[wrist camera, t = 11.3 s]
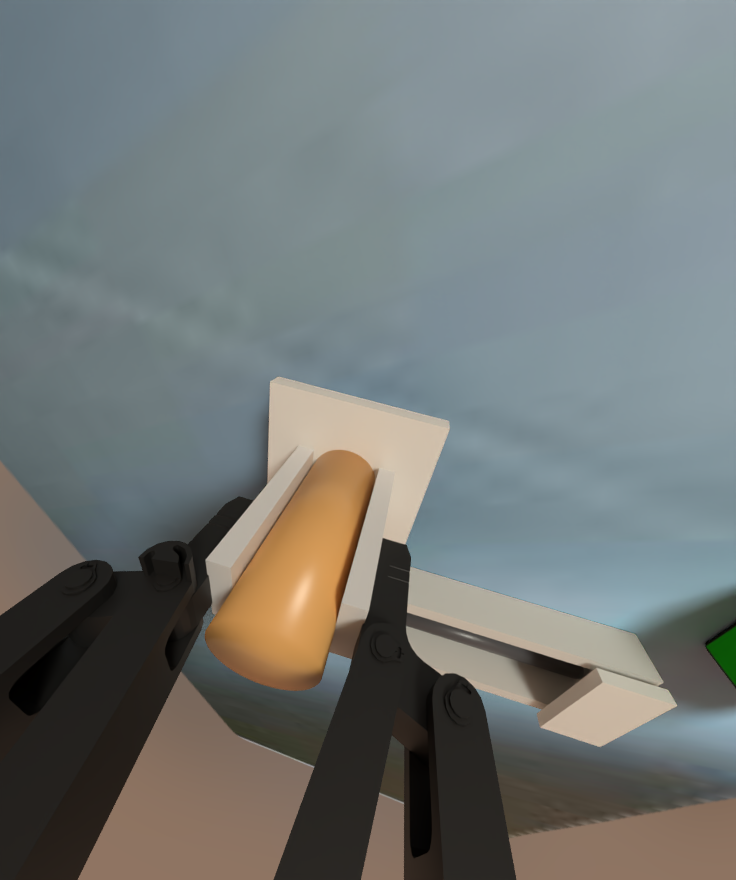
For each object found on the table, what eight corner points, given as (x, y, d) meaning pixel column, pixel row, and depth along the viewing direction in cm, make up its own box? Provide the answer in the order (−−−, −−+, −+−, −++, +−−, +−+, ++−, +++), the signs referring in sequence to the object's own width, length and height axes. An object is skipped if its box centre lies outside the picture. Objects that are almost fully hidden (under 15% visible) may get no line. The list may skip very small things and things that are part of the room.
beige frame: (285, 589, 27) (263, 636, 24) (290, 531, 23) (265, 576, 20) (575, 680, 25) (600, 746, 22) (635, 634, 21) (677, 705, 18)
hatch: (365, 640, 22) (332, 823, 15) (268, 609, 23) (188, 770, 15) (448, 420, 13) (475, 623, 5) (278, 376, 13) (74, 499, 6)
